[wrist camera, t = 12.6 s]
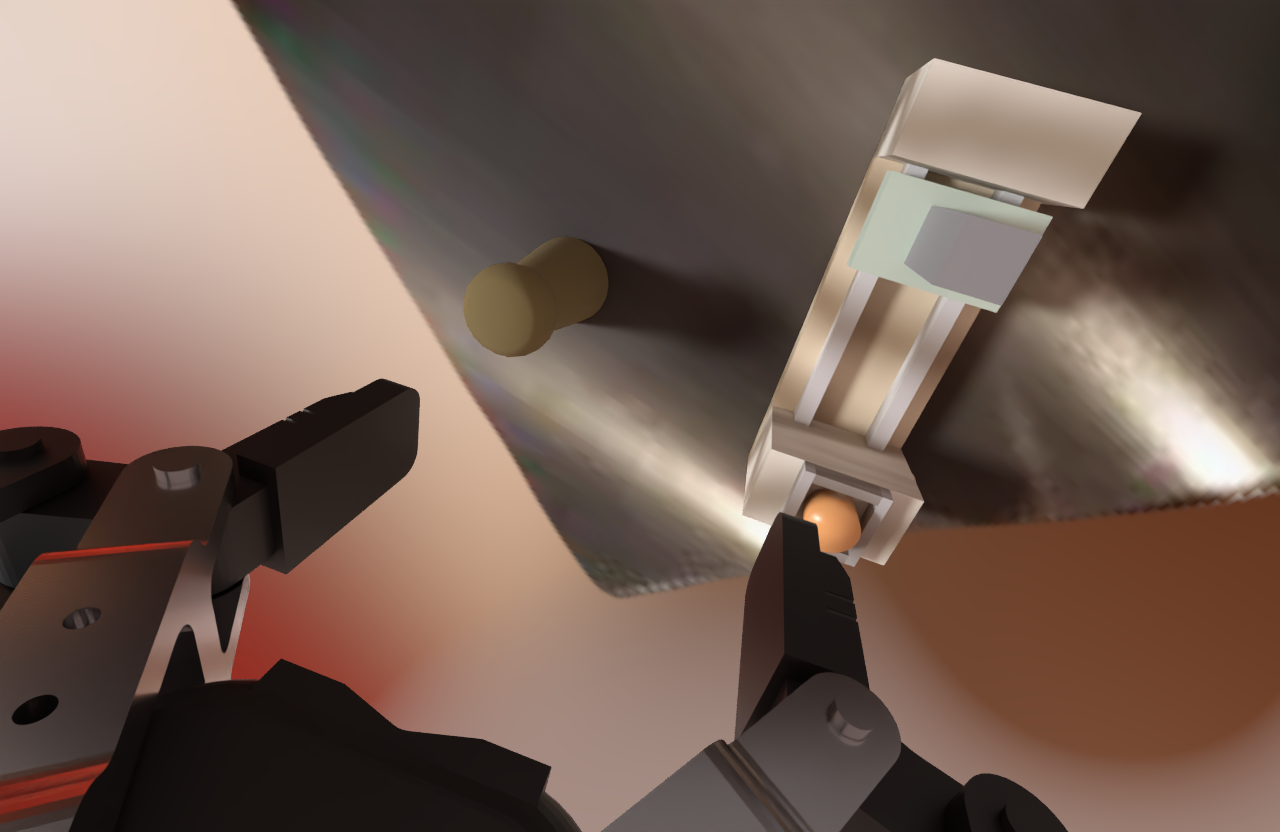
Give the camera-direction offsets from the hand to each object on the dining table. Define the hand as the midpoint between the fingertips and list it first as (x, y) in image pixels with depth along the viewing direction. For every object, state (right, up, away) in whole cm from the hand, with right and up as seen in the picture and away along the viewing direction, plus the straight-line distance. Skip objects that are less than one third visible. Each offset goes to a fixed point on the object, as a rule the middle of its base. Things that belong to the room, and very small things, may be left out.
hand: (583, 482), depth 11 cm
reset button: (+12, -4, +20) cm, 24 cm away
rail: (+17, +8, +23) cm, 30 cm away
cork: (-4, +11, +27) cm, 30 cm away
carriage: (+17, +11, +18) cm, 27 cm away
